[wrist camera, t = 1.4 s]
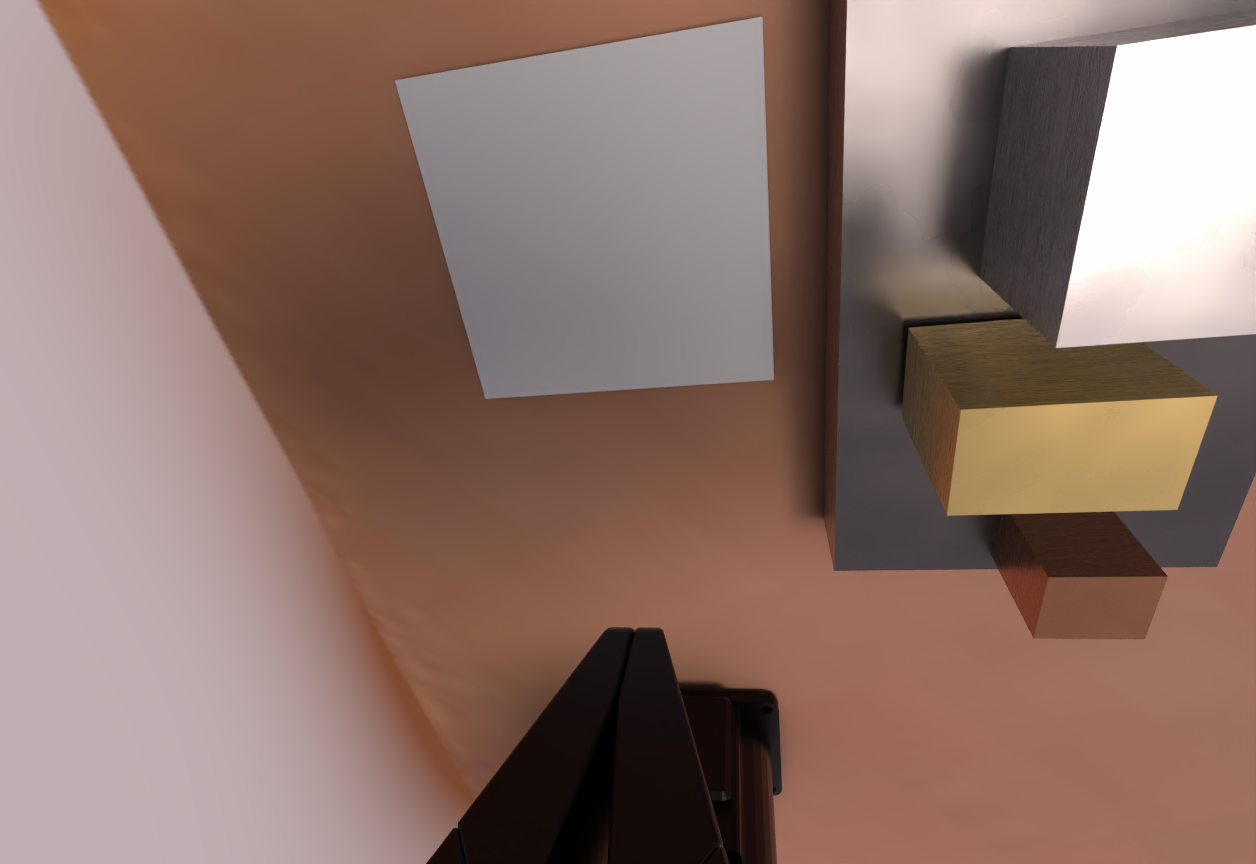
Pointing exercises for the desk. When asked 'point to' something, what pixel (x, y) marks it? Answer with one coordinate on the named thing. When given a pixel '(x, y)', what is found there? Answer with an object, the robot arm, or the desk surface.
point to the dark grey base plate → (981, 317)
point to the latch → (1049, 421)
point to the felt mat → (605, 211)
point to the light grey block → (1129, 184)
